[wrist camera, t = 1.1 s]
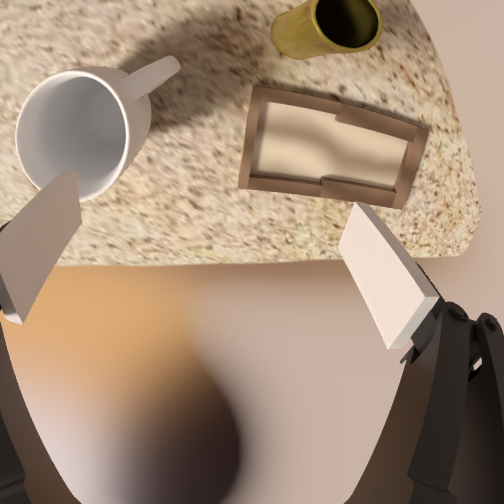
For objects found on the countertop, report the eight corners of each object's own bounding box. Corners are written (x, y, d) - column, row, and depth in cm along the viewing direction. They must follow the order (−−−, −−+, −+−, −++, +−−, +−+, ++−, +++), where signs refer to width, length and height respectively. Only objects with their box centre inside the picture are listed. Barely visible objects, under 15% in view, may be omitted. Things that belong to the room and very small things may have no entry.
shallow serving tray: (252, 85, 29) (253, 86, 27) (422, 127, 32) (428, 130, 31) (238, 183, 35) (238, 188, 34) (397, 204, 39) (402, 209, 38)
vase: (267, 55, 27) (299, 47, 15) (273, 6, 23) (308, -31, 12) (321, 63, 27) (383, 68, 16) (327, 16, 24) (392, -5, 12)
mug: (159, 25, 23) (122, 4, 13) (212, 100, 29) (206, 121, 19) (61, 107, 27) (-5, 136, 16) (111, 172, 33) (66, 226, 22)
